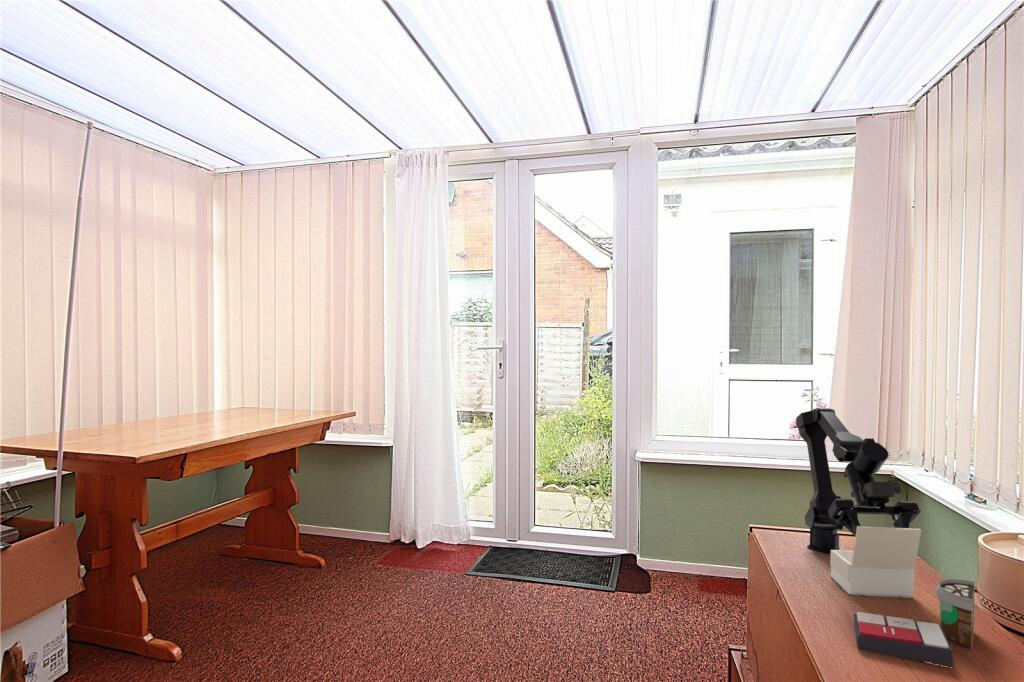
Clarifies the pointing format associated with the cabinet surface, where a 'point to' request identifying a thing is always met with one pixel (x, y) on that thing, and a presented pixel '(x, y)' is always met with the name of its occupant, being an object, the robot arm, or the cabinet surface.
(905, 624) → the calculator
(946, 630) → the food container
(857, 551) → the carton flap
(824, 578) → the cabinet surface
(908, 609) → the cabinet surface
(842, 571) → the carton
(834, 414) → the robot arm
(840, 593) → the cabinet surface
